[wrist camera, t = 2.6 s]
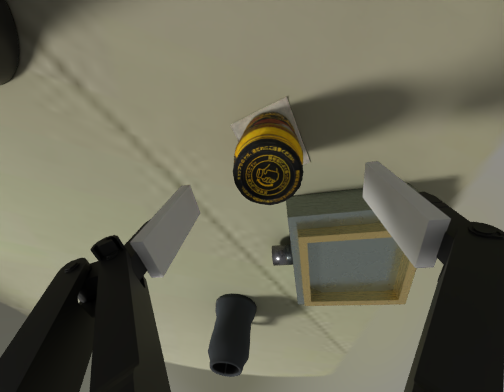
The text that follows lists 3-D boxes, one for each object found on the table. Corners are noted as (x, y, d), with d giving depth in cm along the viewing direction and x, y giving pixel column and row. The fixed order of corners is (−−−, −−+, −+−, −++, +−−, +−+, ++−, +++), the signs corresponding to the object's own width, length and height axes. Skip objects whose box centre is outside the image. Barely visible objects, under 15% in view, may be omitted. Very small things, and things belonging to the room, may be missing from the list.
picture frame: (265, 199, 30) (263, 227, 24) (408, 183, 26) (445, 211, 21) (279, 279, 38) (280, 313, 33) (388, 274, 35) (410, 312, 29)
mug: (217, 290, 42) (200, 353, 32) (259, 298, 42) (255, 363, 32) (214, 320, 48) (199, 381, 38) (251, 327, 48) (245, 389, 38)
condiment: (286, 96, 23) (297, 111, 12) (309, 161, 26) (333, 216, 16) (230, 124, 25) (199, 157, 14) (259, 181, 28) (250, 240, 18)
